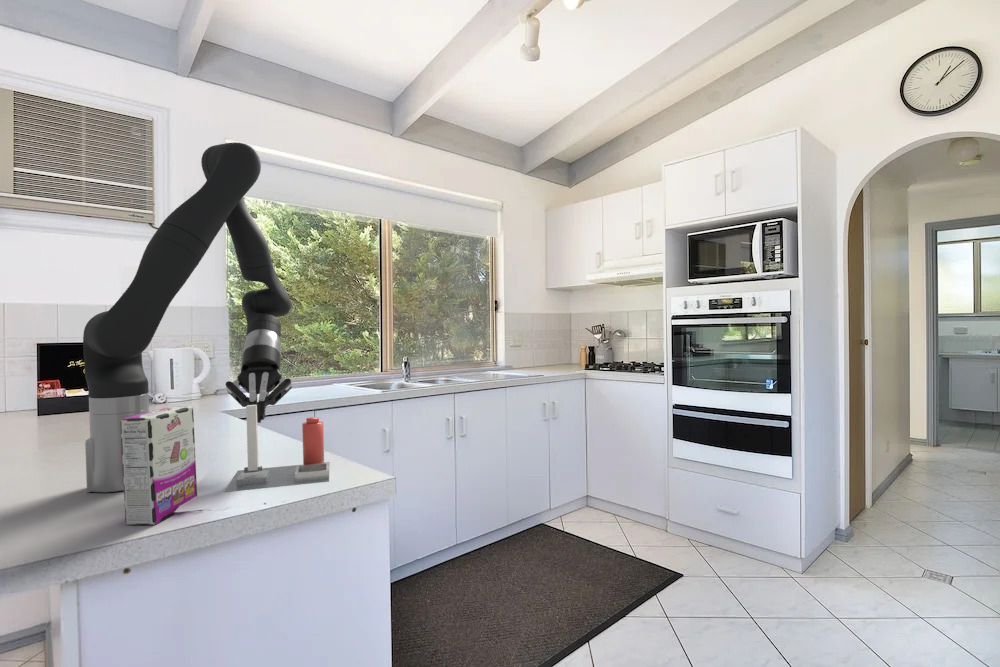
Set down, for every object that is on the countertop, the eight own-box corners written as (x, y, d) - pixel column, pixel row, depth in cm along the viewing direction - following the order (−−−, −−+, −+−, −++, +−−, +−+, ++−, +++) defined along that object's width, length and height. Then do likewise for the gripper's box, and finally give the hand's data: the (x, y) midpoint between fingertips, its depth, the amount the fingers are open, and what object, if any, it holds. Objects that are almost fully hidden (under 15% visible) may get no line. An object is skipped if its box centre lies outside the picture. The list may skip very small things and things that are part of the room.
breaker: (243, 474, 98) (242, 406, 98) (245, 471, 100) (243, 405, 100) (261, 472, 99) (259, 405, 99) (262, 470, 101) (260, 404, 100)
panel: (223, 497, 93) (223, 483, 93) (237, 475, 106) (237, 463, 106) (329, 486, 98) (328, 473, 98) (329, 466, 112) (329, 455, 112)
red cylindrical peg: (302, 470, 105) (301, 420, 105) (303, 465, 109) (302, 417, 109) (324, 468, 107) (322, 418, 106) (324, 463, 110) (323, 415, 110)
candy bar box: (169, 501, 91) (166, 406, 91) (198, 501, 91) (195, 405, 91) (121, 526, 80) (118, 417, 80) (154, 526, 80) (151, 417, 80)
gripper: (225, 344, 111) (215, 411, 100) (293, 342, 115) (291, 406, 104) (230, 367, 116) (222, 434, 105) (295, 364, 120) (293, 428, 109)
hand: (256, 420), depth 104 cm, fingers closed
